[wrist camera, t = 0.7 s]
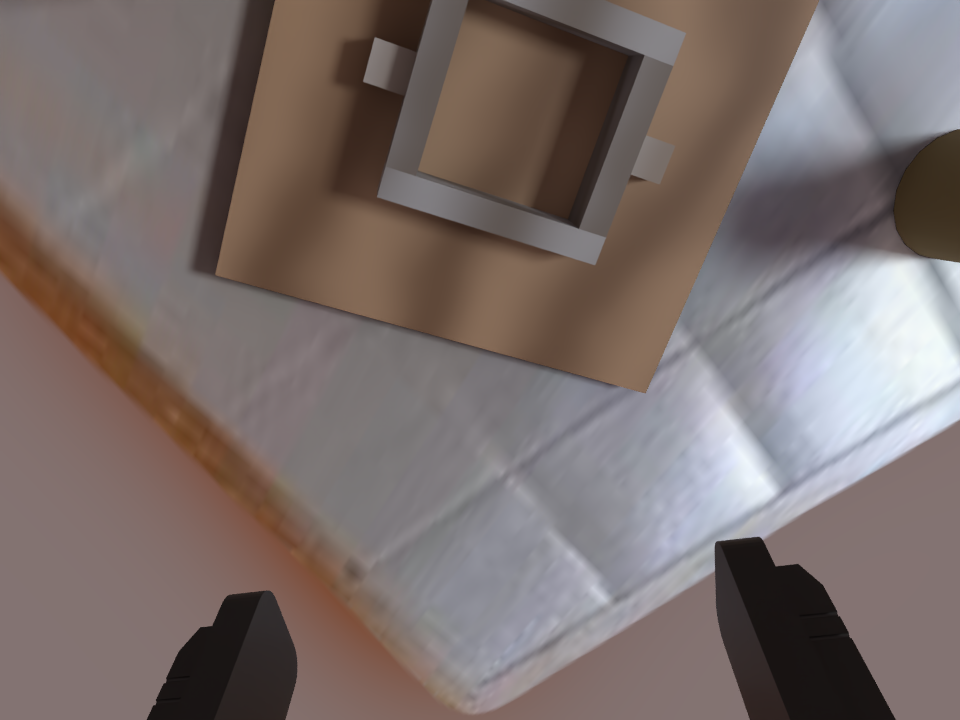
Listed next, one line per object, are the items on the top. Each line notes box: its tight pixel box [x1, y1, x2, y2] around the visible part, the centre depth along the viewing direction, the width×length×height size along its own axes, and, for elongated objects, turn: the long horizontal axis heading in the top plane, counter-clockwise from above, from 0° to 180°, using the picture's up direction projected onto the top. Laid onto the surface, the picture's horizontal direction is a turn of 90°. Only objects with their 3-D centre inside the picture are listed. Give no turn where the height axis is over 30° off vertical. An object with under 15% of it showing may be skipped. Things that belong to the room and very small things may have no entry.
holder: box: [215, 0, 819, 393], centre depth 29 cm, size 20×20×3 cm
